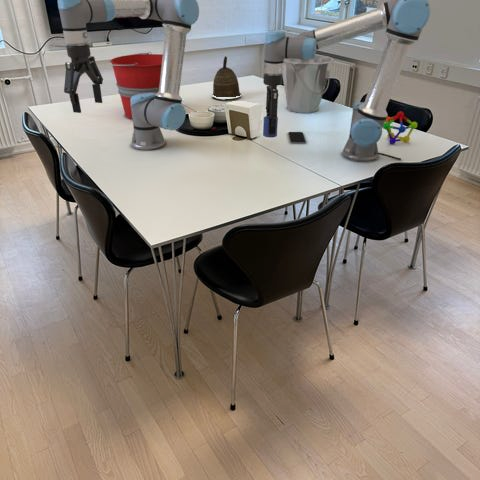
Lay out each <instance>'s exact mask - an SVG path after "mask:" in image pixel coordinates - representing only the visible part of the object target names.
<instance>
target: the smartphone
mask: <svg viewBox="0 0 480 480" xmlns="http://www.w3.org/2000/svg"><path fill="white" fill-rule="evenodd" d="M288 138H289V142H290V144H306V142H307V141H306V138H305V135H304V132H303V131H288Z"/></svg>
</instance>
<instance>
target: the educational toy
mask: <svg viewBox="0 0 480 480" xmlns="http://www.w3.org/2000/svg"><path fill="white" fill-rule="evenodd" d="M397 119H399V124H400V125H399V127H398V126H393V125H391V124H392V123H394V122H395V121H396V120H397ZM403 120H404V121H405V122H407V123H408V124H409V125H407V126H404V123H403ZM417 127H418V122H417V121H411V120H410V119H409V118H408V117H406V116H405V113H404V112H403V111H401V110H400V111H398V112H397V114H396V115H394V116H391V117H390V116H387V118H386V120H385V123H384V125H383V128H382V129H383V130H386V132H387V138H388V142H389V145H395V144H396V143H397V142H402V141H403V142H404V143H409V142H410V140H411V138H410V136H411V134H412V132H413V131H414V130H415V129H417ZM392 129H393V130H397V131H398V132H396V134H395V133H394V132H392ZM408 129H409V131H408V133H407V134H406V135H404V136H401V134H403V133H405V132H406V130H408ZM399 135H400V136H399Z"/></svg>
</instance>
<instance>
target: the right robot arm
mask: <svg viewBox="0 0 480 480" xmlns="http://www.w3.org/2000/svg"><path fill="white" fill-rule="evenodd" d="M430 16H431V6H430V3H429V1H428V0H388V1H385V2H382V4H381V5H380V6H379V7H377V8H374V9H371V10H368V11H365V12H362V13H359V14H356V15H353V16H350V17H348V18H344V19H342V20H339V21H338V20H337V21H335V22H332V23H329V24H326V25H324V26H320V27H317V28H315V29H312V30H309V31H303V32H301V33H299V34H298V35H297V36H296V37H295V36H286V31H285V30H279V29H271V30H267V31H266V32H265V39H264V56H263V57H264V60H263V61H264V62H263V63H264V64H263V65H262V67H263V73H264V74H263V81H262V83H263V84H264V85H265V86H266V101H265V110H266V114H265V116H270V117H268V119H269V130H268V134H275V126H276V118H277V117H278V105H279V103H278V102H279V89H278V86H281V85H282V84H283V74H282V73H283V65H284V58H291V59H304V60H312V59H314V58H315V55H317V50H321V49H325V48H327V47H330V46H333V45H336V44H339V43H342V42H345V41H349V40H352V39H355V38H358V37H361V36H365V35H368V34H371V33H374V32H377V31H380V30H381V31H382V30H385V35H386V37H387V39H386V42H385V45H384V47H383V50H382V53H381V55H380V58H379V61H378V64H377V67H376V69H375V72H374V75H373V78H372V80H371V83H370V86H369V89H368V91H367V95H366V97H365V99H364V101H360V102H355V103H354V104H353V108H352V114H351V122H350V127H349V135H348V139H347V141H346V143H345V145H344V147H343V148H342V157H344V158H345V159H348V160H349V161H352V162H353V161H354V162H360V163H368V162H373V161H376V160H378V158H379V156H382V157H387V158H391V159H394V160H398V161H401V160H402V157H398V156H394V155H390V154H386V153H382V152H379V148H378V142H379V141H380V140H381V137H382V135H383V129H384V128H383V125H384V123H386V122H385V120H386V118H387V117H388V115H389V114H388V112H387V107H388V105H389V102H390V99H391V97H392V96H393V95H392V94H393V91H394V89H395V87H396V85H397V81H398V79H399V77H400V75H401V73H402V69H403V67H404V64H405V62H406V59H407V57H408V55H409V52H410V49H411V46H412V45H413V44H415V43H416V42H418V40H419V39H420V38H419V37H420V35H421V33H422V31H423V29H424V27H426V25H427V23H428V22H429V19H430Z"/></svg>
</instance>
